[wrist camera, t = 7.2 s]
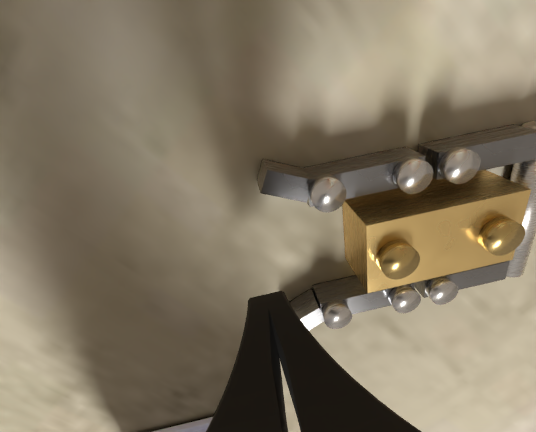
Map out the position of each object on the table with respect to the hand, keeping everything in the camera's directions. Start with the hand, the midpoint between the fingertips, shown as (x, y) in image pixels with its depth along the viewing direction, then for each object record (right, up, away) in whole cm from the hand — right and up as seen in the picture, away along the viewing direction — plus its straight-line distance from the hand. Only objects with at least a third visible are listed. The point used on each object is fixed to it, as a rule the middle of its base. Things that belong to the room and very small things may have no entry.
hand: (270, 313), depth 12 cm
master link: (+7, +4, +4) cm, 9 cm away
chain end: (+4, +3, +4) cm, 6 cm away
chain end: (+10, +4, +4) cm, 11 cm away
